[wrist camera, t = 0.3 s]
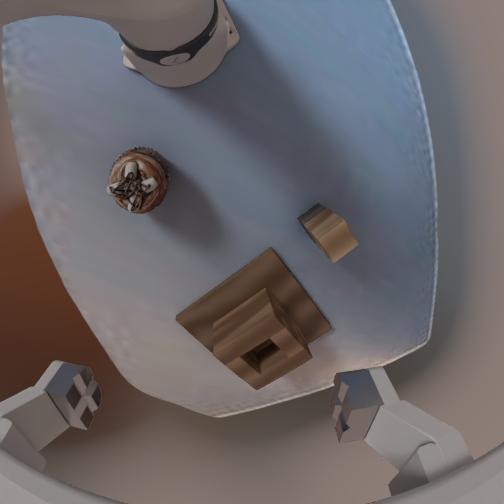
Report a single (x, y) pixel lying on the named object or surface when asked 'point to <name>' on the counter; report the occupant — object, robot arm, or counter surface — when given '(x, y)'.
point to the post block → (257, 321)
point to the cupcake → (139, 180)
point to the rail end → (328, 232)
